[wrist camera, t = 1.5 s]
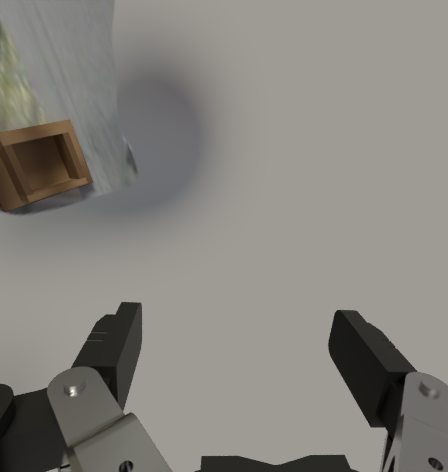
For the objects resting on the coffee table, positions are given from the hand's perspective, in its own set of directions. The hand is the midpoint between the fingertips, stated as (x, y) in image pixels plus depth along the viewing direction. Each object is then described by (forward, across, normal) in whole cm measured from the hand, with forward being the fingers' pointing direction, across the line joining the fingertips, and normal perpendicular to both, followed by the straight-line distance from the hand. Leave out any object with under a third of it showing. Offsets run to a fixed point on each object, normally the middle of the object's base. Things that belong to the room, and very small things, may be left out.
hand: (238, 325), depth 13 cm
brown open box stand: (+33, +24, -2) cm, 41 cm away
